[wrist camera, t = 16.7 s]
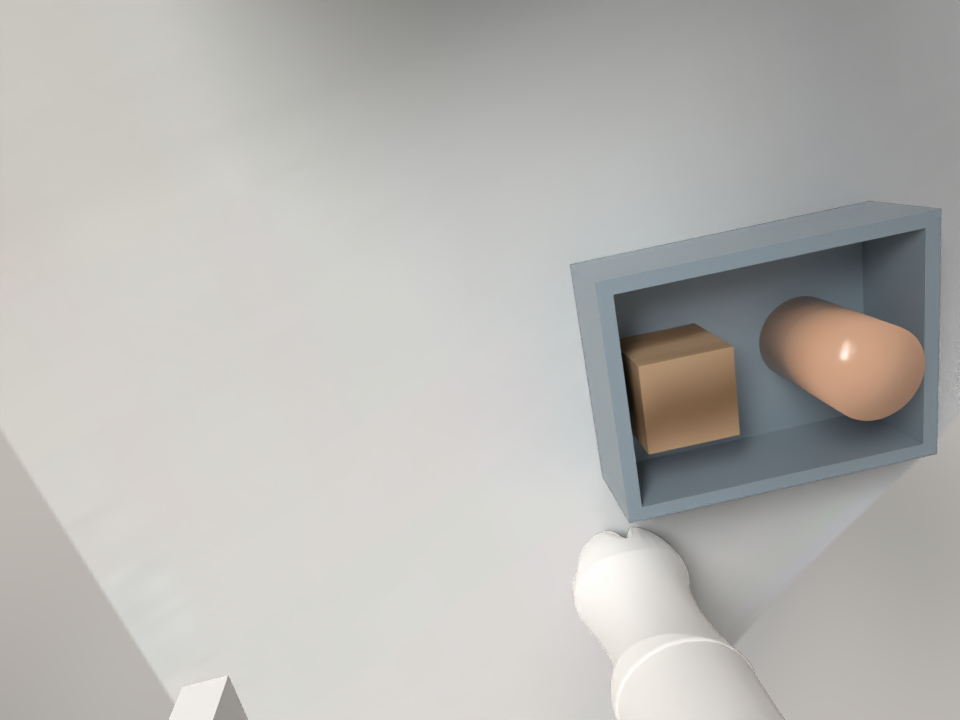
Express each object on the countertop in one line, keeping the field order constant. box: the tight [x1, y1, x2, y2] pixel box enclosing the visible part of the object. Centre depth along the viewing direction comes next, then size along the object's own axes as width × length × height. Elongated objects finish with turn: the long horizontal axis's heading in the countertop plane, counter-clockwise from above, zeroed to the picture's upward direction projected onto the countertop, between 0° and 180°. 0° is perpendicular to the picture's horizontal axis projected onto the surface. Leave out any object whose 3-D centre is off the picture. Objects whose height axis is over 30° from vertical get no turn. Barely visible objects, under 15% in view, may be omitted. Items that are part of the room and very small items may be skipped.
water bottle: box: [572, 528, 785, 720], centre depth 32 cm, size 7×7×25 cm
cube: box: [619, 323, 740, 454], centre depth 37 cm, size 5×5×5 cm
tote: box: [570, 201, 941, 523], centre depth 38 cm, size 14×18×6 cm
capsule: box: [759, 296, 925, 421], centre depth 37 cm, size 5×5×7 cm
